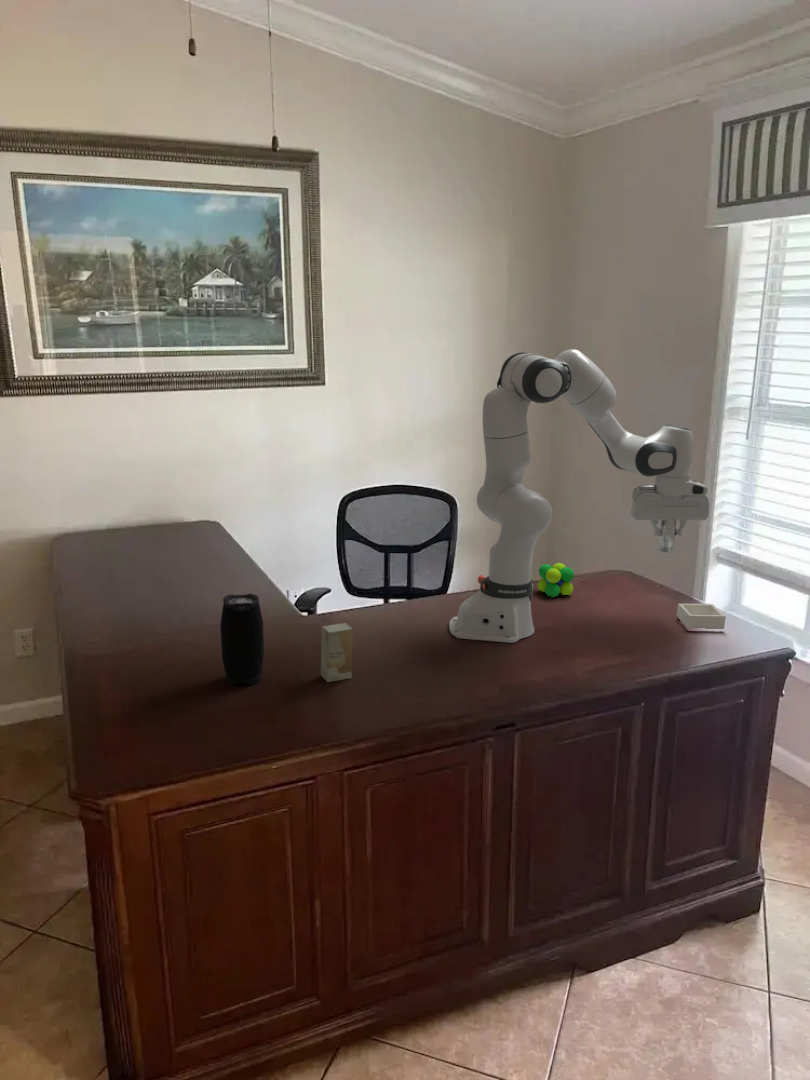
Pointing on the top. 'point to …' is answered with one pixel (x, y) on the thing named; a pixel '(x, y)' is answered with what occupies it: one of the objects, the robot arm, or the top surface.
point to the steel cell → (667, 535)
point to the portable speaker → (242, 639)
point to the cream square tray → (701, 616)
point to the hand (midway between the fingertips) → (667, 535)
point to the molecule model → (555, 579)
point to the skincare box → (336, 652)
